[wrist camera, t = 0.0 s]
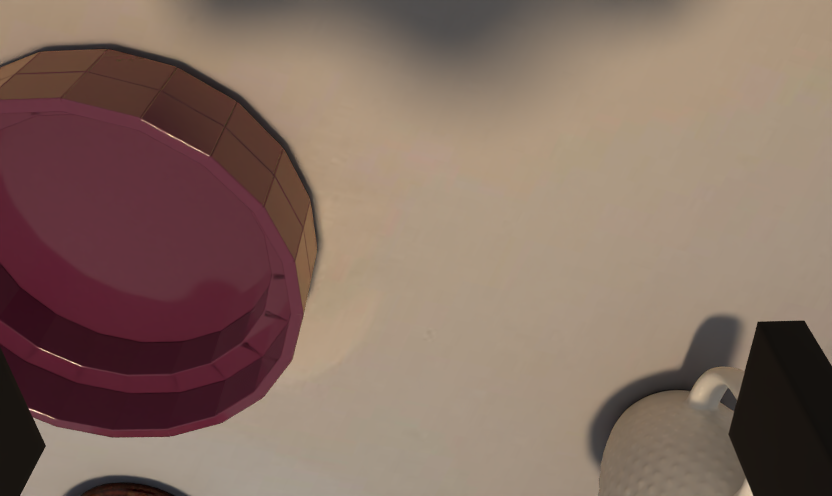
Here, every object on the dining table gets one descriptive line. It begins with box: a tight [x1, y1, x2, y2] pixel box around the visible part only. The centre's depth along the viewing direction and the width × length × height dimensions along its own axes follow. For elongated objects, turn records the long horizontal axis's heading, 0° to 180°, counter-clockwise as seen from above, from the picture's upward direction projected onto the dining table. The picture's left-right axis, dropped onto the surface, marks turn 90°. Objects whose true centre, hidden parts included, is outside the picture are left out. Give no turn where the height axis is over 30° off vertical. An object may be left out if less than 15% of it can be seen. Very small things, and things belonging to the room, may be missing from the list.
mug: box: [598, 367, 753, 496], centre depth 42 cm, size 15×11×13 cm
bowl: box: [0, 49, 317, 437], centre depth 38 cm, size 19×19×6 cm
